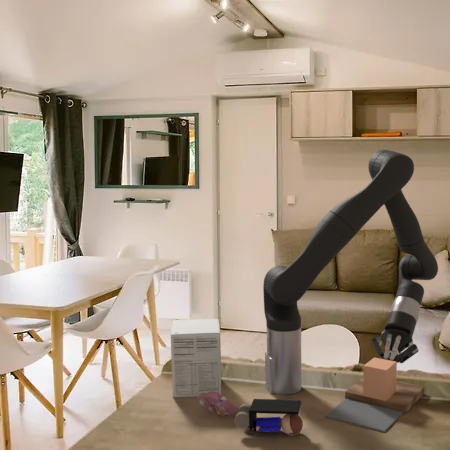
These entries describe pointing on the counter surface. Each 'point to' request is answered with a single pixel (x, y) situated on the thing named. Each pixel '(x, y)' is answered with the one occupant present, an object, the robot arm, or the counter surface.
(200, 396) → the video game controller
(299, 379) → the robot arm
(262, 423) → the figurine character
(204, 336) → the supplement box
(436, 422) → the counter surface
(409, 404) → the board
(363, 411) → the mat
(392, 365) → the block
